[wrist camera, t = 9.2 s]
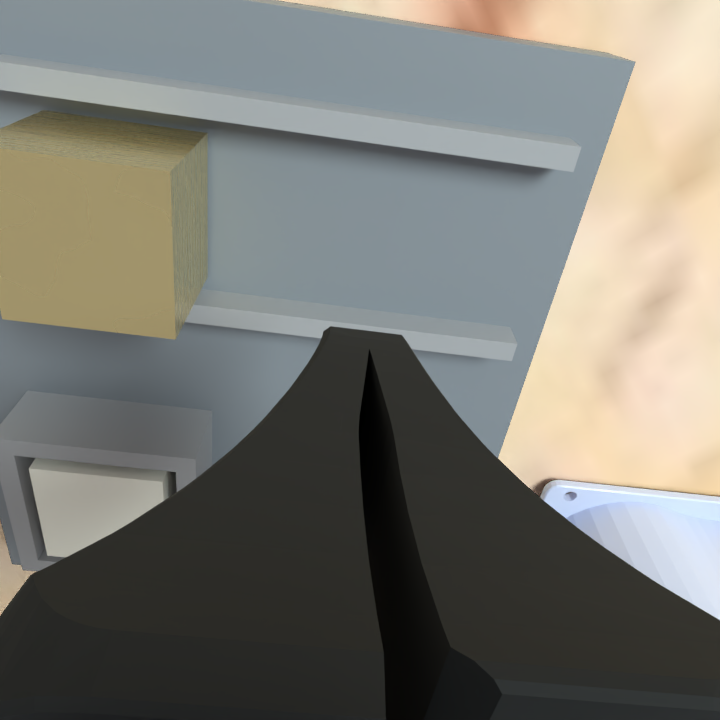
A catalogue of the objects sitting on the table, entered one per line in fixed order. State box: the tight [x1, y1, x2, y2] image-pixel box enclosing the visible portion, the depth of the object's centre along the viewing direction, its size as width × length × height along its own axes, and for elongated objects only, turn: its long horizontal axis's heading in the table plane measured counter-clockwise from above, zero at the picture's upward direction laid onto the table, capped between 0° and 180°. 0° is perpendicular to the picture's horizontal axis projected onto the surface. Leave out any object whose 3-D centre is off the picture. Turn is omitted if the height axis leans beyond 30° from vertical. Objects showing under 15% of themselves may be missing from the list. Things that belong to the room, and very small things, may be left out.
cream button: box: [29, 458, 177, 557], centre depth 20 cm, size 4×4×2 cm
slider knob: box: [0, 110, 208, 340], centre depth 15 cm, size 4×4×4 cm
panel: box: [0, 0, 635, 571], centre depth 19 cm, size 18×21×4 cm
